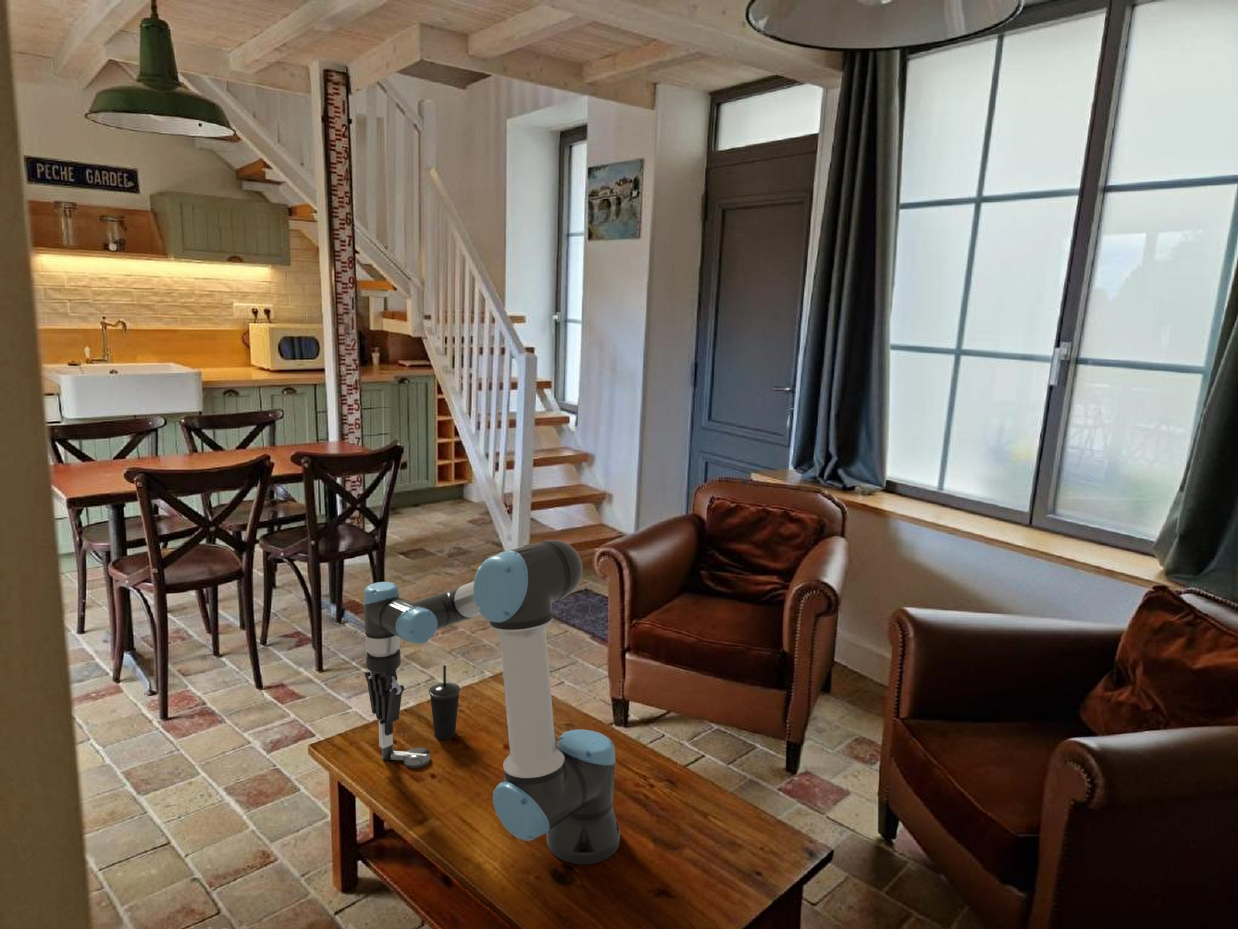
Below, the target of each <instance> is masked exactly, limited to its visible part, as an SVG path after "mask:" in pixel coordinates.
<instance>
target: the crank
mask: <svg viewBox="0 0 1238 929" xmlns="http://www.w3.org/2000/svg"><path fill="white" fill-rule="evenodd" d="M381 759H382V760H383V761H390V760H394V761H403V765H404V766H405V767H407V768H411V769H418V768H423V767H425V766H427V765H428V764H429V763H430V760H431V752H430V750H429V749H427V748H425V747H413V748H409V749H408V750H406V751H401V750H394V744H393V745H390V746H388V747H386V748H384V749H382V748H381Z"/></svg>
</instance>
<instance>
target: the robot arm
mask: <svg viewBox="0 0 1238 929" xmlns="http://www.w3.org/2000/svg"><path fill="white" fill-rule="evenodd" d="M583 569H584V568H583V562H582V559H581V556H580V554H579V553H578V551H577V550H576V548H575V547H573V546H572V545H570V544H569V543H568V542H565V541H562V540H559V539H558V540H557V539H547V540H543V541H542V540H541V541H539V542H535V543H533V544H528V545H525V546H521V547H518V548H514V549H510V550H504V551H501V552H499V553H497V554H494V555H493V556H489V557H488V558H487V559H485V560H484V561H483V562H482V563H481V565H480V566H479V567H478V568H477V570H476V572H475V576H474V579H473V581H471V582H469V583H466V584H463V585H462V586H458V587H455V588H453V589H450V590H446V591H444V592H441V593H438V594H434V595H432V596H429V597H428V596H427V597H425V598H422V599H418V600H415V601H412V602H411V601H407V600H405V599H402V598H400V590H399V586H398V584H396V583H394V582H391V581H378V582H375V583H372V584H368V585H367V586H366V587H365V589H364V591H363V592H364V593H363V595H364V596H363V602H362V603H363V614H364V616H363V617H364V618H363V619H364V631H365V632H364V639H365V640H364V641H365V642H364V643H365V652H366V653H365V662H366V663H365V666H366V669H367V671H365V672H364V676H365V680H366V683H367V688H368V689H367V690H368V694H369V696H368V697H369V700H370V701H369V702H370V709H371V713H372V714H373V715H375V717H376V719H377V723H378V745H379V746H378V747H379V748H381V750H382V749H384V748H386V747H388V746H390V745H393V746H394V734H393V733H394V726H393V725H394V724H393V723H394V722H396V721H398V720H399V719H400V710H401V705H402V695H403V692H404V691H405V686H404V685H403V684H401V685H399V683H398V676H397V671H398V670H397V669H398V668H399V667H400V666H401V661H402V660H401V649H400V648H401V641H400V639H401V640H403V641H406V642H410V643H412V644H416V645H421V644H425V643H428V642H429V640H431V638H433V637H434V636H435V634H436V632H437V631H438V630H441V629H444V628H446V627H448V626H449V627H450V626H451V625H454V624H458V623H461V622H464V621H467V620H470V619H473V618H474V617H478V616H482V617H483V618H484V619H486V620H487V621H489V624H490V627H491V629H493V630H494V631H495V632H496V633H498V634H499V642H500V643H499V645H500V655H501V656H500V657H501V666H502V678H503V690H504V700H505V711H506V721H507V732H508V742H509V744H508V745H509V755H508V756H507V757H506V758H505V759H504V760H503V763H502V767H503V779H504V780H503V781H502V782H499V783H498V785H496V787H495V788H494V790H493V792H492V802H493V809H494V810H495V811H494V812H495V813H496V816H497V817H498V820H499V821H500V824H502V825H503V827H504V828H505V829H506V830H507V832H509V833H510V834H511V835H513V836H514V837H515V838H517V839H519V840H522V841H533V840H536V839H537V838H538V837H540V836H542V835H546V844H547V848H548V849H549V851H550V852H551V854H553V855H554V856H555V857H556V858H558V859H559V860H562V861H564V862H565V863H570V864H574V865H580V866H581V865H585V866H586V865H593V864H594V865H595V864H597V863H601V862H603V861H605V860H607V859H609V858H611V857H612V856H613V855H614V854H615V853H616V852H617V850H618V848H619V846H620V838H621V836H620V835H621V832H620V831H621V829H620V825H619V822H618V820H617V817H616V813H615V809H614V806H613V805H614V790H615V789H614V786H615V782H614V781H615V770H616V769H615V766H616V763H617V761H616V760H617V758H616V750H615V749H616V748H615V745H614V743H613V741H612V740H611V739H610V738H609V737H607V736H606V735H605V734H602V733H601V732H598V731H595V730H589V729H571V730H567V731H565V732H563V733H562V734H561V735H560V736H559V737H558V739H557V744H556V737H555V726H554V714H553V712H554V711H553V701H552V689H551V678H550V677H551V676H550V667H549V666H550V665H549V652H548V642H547V630H546V629H547V628H548V626H549V625H550V624H551V622H552V621H553V619H554V615H553V604H552V603H554V602H557V601H560V600H562V599H564V598H566V597H567V596H569V595H570V594H572V593H574V591H575V590H576V589H577V587H578V586H579V584H580V582H581V580H582V577H583Z"/></svg>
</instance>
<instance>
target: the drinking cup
mask: <svg viewBox="0 0 1238 929" xmlns="http://www.w3.org/2000/svg"><path fill="white" fill-rule="evenodd" d="M442 670H443V671H442V674H443V675H442V676H443V677H442V679H443V680H442V681H443V682H439V683H436V684H433V685H432V686H430V688H429V689H428V693H429V694H428V695H429V696H430V705H431V716H432V723H433V724H432V726H433V733H434V737H435V739H436V740H439V741H448V740H451V739H453V738H454V737H455V736H456V729H457V721H458V720H457V718H458V709H459V708H458V707H459V698H460V693H461V686H460V685H459V684H456V683H454V682H447V666H446V665H445V664H444V665H442Z"/></svg>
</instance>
